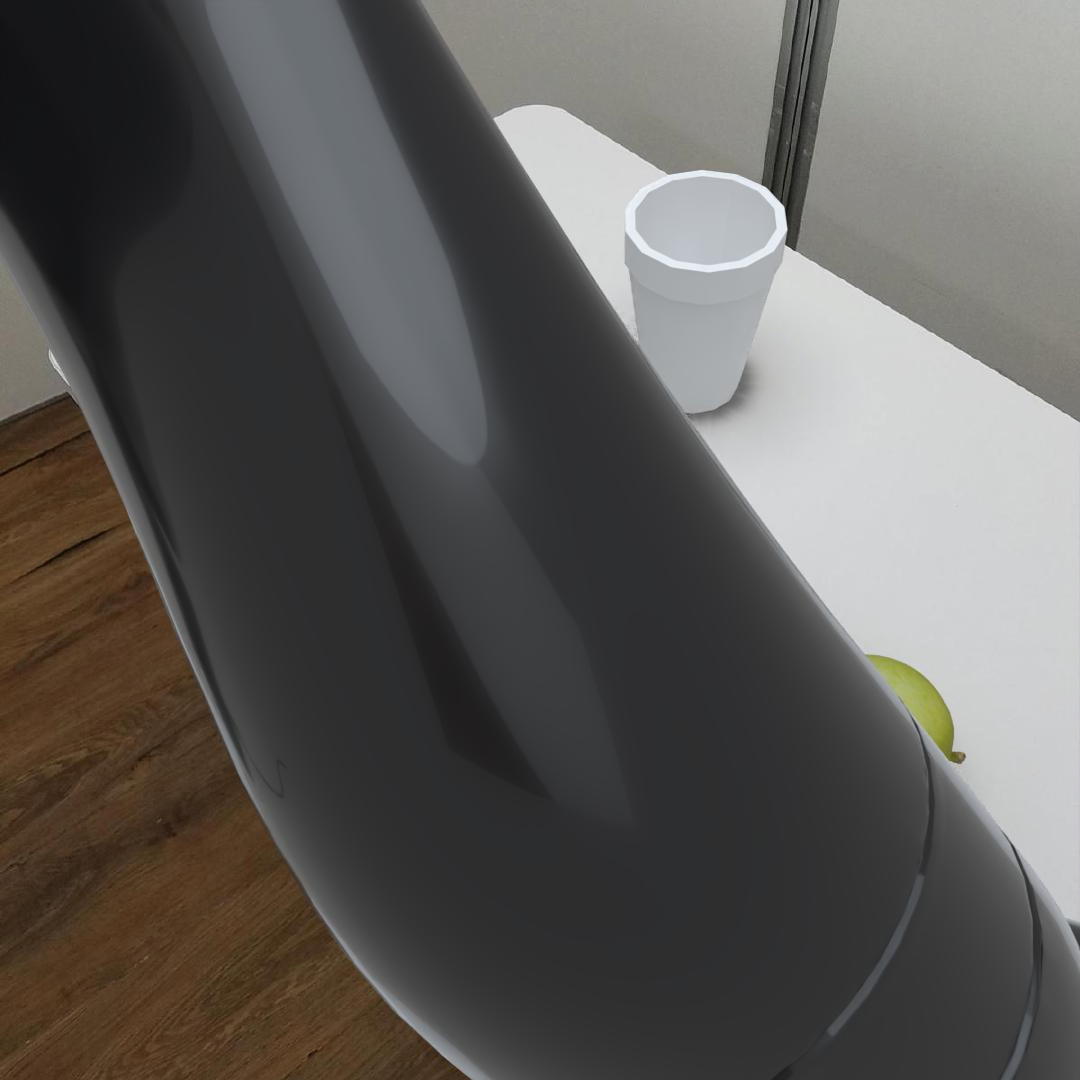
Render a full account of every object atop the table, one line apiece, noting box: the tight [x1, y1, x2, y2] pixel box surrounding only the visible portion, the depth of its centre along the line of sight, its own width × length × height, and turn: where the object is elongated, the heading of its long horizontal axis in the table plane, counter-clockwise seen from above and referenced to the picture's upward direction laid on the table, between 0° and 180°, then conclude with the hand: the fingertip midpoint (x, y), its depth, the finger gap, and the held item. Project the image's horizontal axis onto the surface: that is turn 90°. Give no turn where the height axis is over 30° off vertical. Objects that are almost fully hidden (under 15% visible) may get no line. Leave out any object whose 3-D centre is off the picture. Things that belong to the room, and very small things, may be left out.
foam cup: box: [624, 169, 788, 415], centre depth 69 cm, size 10×9×13 cm
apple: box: [864, 653, 967, 765], centre depth 54 cm, size 8×9×8 cm
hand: (586, 730), depth 51 cm, fingers closed on pill bottle, 5 cm apart
